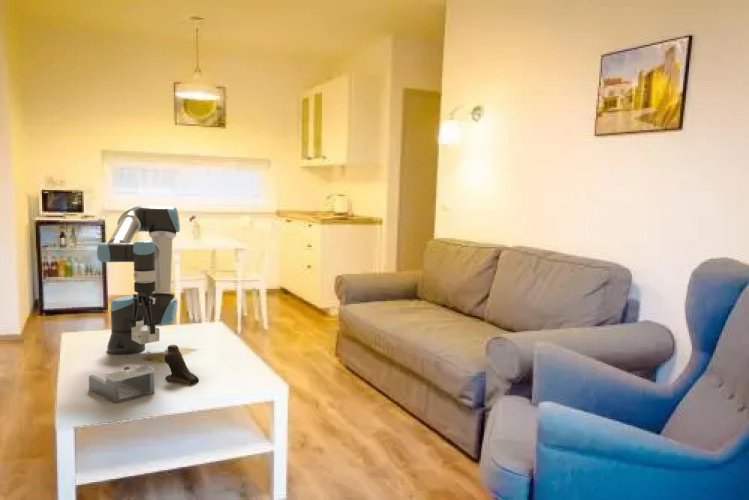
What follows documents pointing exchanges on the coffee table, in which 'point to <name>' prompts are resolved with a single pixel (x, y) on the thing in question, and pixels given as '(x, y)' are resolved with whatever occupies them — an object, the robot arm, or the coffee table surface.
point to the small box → (143, 334)
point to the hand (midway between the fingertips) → (145, 339)
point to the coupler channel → (124, 384)
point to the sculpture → (178, 368)
